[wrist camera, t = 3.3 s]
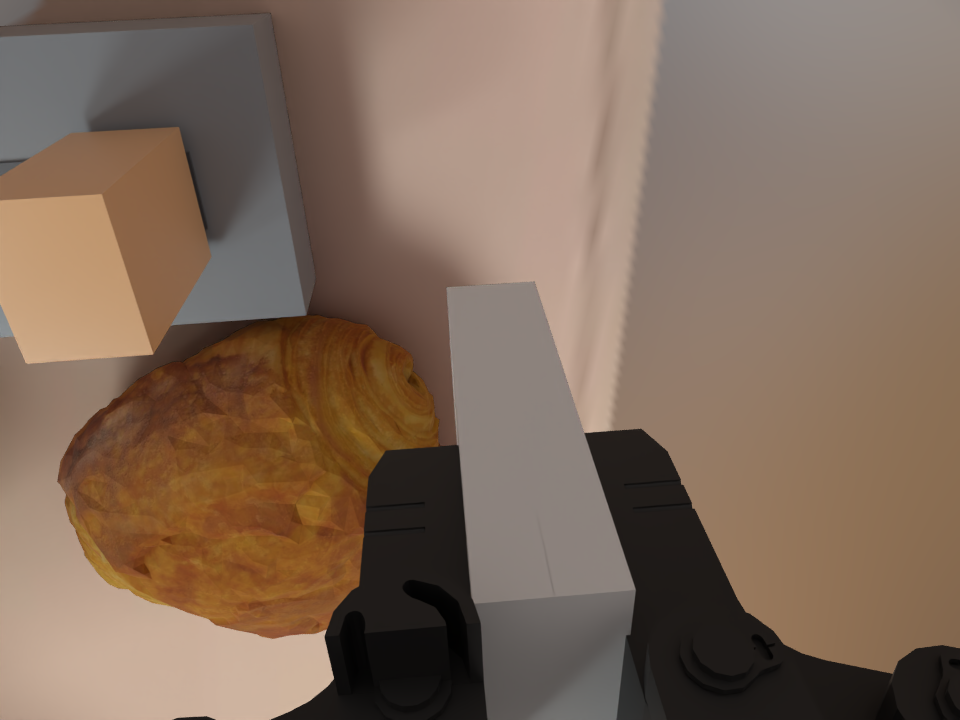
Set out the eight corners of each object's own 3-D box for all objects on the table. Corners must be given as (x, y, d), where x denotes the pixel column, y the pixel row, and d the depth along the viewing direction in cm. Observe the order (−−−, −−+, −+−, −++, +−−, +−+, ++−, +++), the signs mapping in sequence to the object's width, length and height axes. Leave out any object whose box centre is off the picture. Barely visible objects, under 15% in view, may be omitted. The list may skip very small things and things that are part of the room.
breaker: (114, 263, 22) (26, 363, 17) (71, 133, 20) (-44, 203, 15) (211, 256, 22) (153, 354, 17) (178, 126, 20) (101, 194, 15)
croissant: (54, 381, 31) (-77, 518, 24) (359, 237, 26) (302, 356, 20) (254, 585, 38) (196, 735, 31) (523, 498, 33) (523, 652, 26)
